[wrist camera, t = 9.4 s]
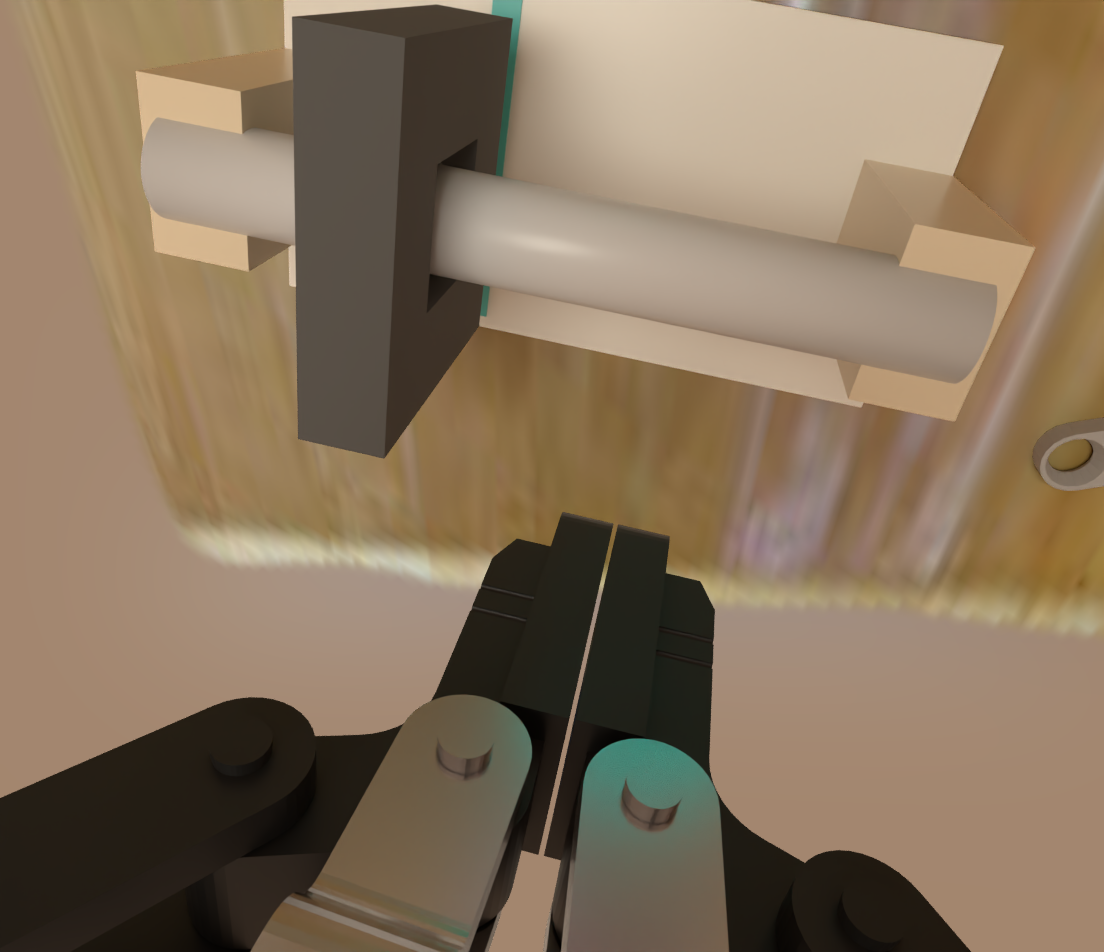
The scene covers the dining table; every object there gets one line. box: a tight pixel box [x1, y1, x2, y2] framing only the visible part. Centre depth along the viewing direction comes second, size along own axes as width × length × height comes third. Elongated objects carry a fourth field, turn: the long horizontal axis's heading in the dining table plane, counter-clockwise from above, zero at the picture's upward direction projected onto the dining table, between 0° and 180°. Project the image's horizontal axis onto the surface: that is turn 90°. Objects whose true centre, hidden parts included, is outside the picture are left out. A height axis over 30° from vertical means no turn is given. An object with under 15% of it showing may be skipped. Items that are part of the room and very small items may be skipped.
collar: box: [292, 4, 513, 458], centre depth 24 cm, size 2×10×10 cm, turn 171°
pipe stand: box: [136, 0, 1035, 422], centre depth 27 cm, size 24×13×12 cm, turn 81°
